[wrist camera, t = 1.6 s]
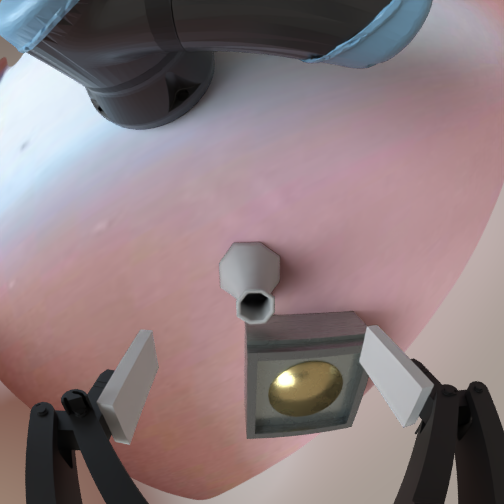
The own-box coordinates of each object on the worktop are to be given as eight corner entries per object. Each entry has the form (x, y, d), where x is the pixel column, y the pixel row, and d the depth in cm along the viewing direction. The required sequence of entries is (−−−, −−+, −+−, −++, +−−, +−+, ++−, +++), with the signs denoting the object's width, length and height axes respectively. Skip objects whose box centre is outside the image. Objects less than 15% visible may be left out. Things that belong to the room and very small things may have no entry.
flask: (289, 250, 31) (313, 277, 21) (269, 307, 32) (282, 353, 22) (228, 232, 30) (224, 252, 20) (210, 291, 31) (200, 333, 22)
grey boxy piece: (244, 315, 32) (247, 349, 25) (353, 311, 33) (378, 338, 26) (244, 403, 35) (246, 440, 28) (335, 396, 36) (350, 428, 29)
